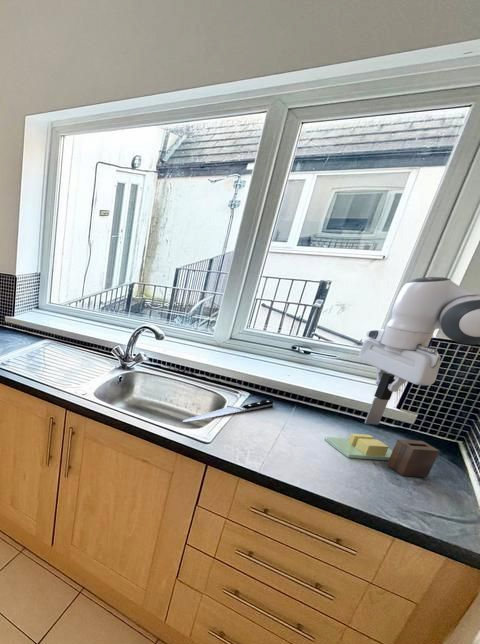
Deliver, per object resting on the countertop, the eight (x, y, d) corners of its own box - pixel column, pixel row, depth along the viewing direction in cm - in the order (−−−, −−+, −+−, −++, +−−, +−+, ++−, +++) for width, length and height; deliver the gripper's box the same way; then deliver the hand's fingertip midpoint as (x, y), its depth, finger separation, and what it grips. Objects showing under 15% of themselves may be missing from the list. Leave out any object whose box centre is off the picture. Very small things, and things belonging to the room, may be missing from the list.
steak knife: (168, 420, 139) (169, 413, 139) (260, 402, 151) (261, 396, 150) (181, 426, 135) (182, 420, 134) (274, 407, 146) (275, 401, 146)
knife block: (410, 466, 114) (422, 440, 111) (427, 477, 109) (439, 450, 106) (386, 464, 114) (397, 439, 112) (402, 475, 110) (413, 449, 107)
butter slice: (366, 443, 123) (369, 434, 122) (370, 446, 122) (373, 437, 120) (347, 442, 123) (351, 433, 122) (351, 445, 122) (355, 436, 121)
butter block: (373, 448, 120) (377, 439, 119) (385, 456, 117) (388, 446, 116) (354, 447, 121) (358, 438, 120) (365, 454, 117) (369, 445, 116)
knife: (374, 422, 119) (394, 373, 114) (381, 426, 117) (401, 376, 112) (361, 421, 120) (380, 372, 115) (368, 425, 118) (387, 375, 112)
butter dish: (374, 443, 125) (375, 440, 125) (402, 461, 116) (404, 458, 116) (324, 439, 127) (325, 436, 126) (348, 457, 118) (349, 454, 117)
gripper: (456, 352, 100) (433, 404, 105) (387, 329, 119) (369, 375, 124) (427, 351, 100) (405, 403, 105) (362, 328, 120) (346, 374, 124)
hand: (385, 387), depth 115 cm, fingers closed on knife, 2 cm apart
